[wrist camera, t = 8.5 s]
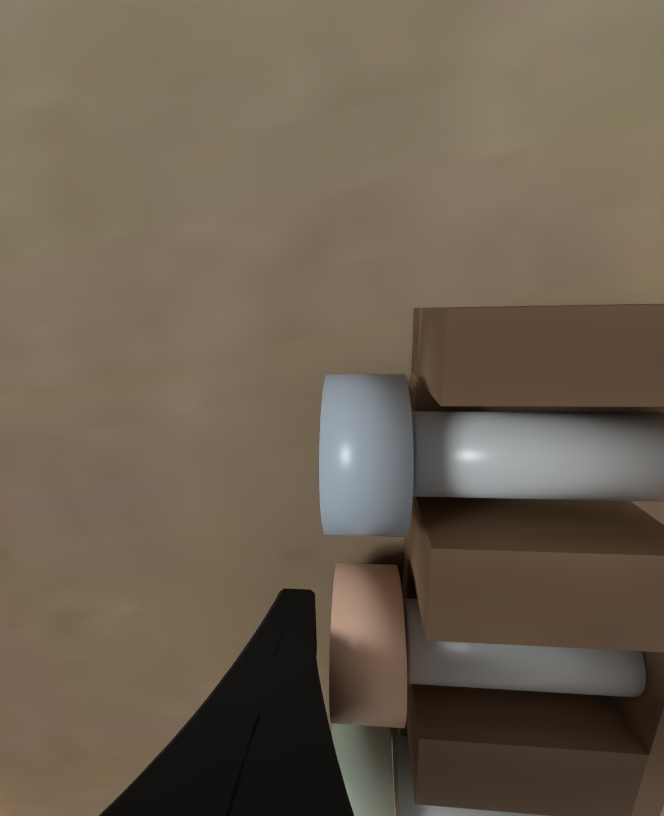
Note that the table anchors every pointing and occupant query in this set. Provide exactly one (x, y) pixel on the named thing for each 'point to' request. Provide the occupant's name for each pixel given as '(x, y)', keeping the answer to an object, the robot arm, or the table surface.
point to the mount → (538, 571)
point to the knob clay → (442, 656)
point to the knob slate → (470, 455)
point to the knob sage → (384, 775)
